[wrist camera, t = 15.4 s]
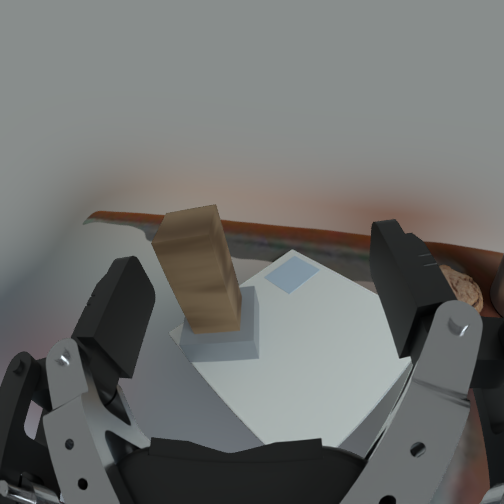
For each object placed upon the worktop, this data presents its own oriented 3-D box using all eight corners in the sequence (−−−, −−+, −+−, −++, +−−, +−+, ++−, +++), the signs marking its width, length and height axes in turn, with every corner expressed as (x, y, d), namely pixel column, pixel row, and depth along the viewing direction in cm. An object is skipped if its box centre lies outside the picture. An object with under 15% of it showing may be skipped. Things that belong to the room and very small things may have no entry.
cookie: (483, 332, 27) (492, 316, 25) (410, 325, 31) (415, 309, 29) (474, 278, 34) (480, 262, 32) (411, 271, 38) (414, 255, 36)
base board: (292, 254, 46) (289, 229, 43) (431, 331, 29) (441, 305, 26) (169, 337, 36) (156, 314, 34) (300, 480, 20) (298, 473, 17)
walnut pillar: (200, 300, 34) (166, 213, 27) (241, 296, 34) (216, 204, 27) (194, 334, 30) (151, 243, 23) (239, 330, 30) (208, 234, 23)
